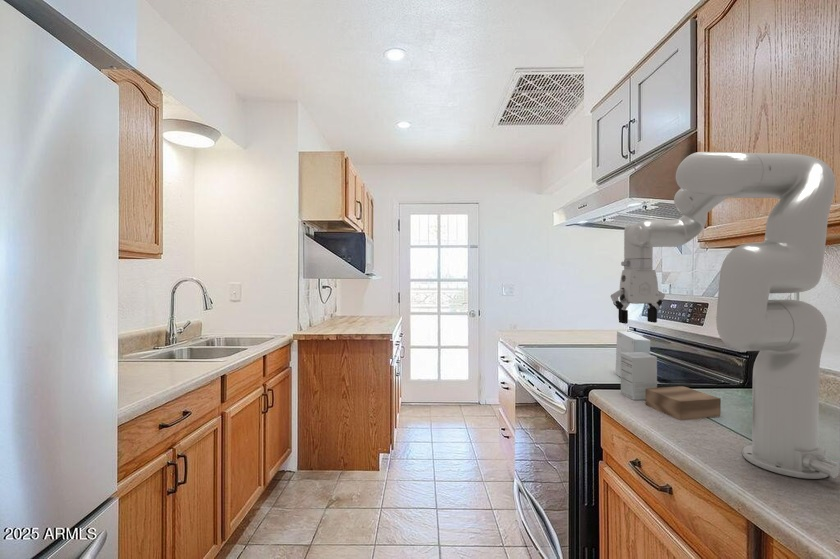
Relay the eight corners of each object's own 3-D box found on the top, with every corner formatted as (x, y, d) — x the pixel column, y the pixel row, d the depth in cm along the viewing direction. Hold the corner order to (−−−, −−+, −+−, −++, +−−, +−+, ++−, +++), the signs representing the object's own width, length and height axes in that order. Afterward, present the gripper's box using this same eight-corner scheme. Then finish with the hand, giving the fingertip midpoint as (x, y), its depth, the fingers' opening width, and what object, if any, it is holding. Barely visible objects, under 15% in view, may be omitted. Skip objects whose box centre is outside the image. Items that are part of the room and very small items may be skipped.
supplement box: (643, 392, 127) (643, 351, 127) (657, 400, 120) (657, 356, 119) (619, 393, 127) (619, 352, 127) (632, 400, 120) (632, 357, 119)
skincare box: (651, 390, 130) (651, 339, 130) (632, 389, 131) (632, 339, 131) (631, 374, 151) (631, 330, 150) (614, 373, 152) (614, 330, 151)
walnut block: (720, 418, 106) (720, 398, 106) (679, 421, 104) (679, 401, 103) (682, 403, 117) (682, 386, 117) (645, 406, 115) (645, 388, 115)
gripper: (620, 265, 118) (620, 325, 118) (673, 265, 121) (672, 323, 121) (604, 265, 125) (603, 321, 125) (654, 265, 128) (654, 320, 128)
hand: (637, 322), depth 123 cm, fingers open, 9 cm apart
